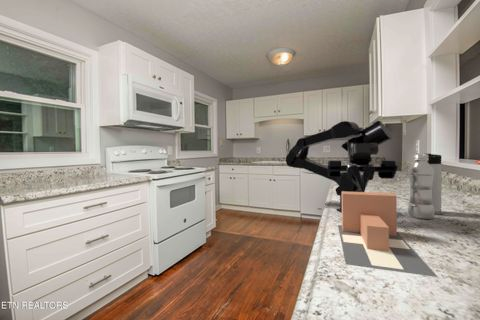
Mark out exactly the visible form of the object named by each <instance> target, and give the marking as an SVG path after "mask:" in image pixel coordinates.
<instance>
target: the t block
mask: <svg viewBox="0 0 480 320" xmlns="http://www.w3.org/2000/svg"><path fill="white" fill-rule="evenodd" d="M397 215H398V214H397V195H396V194H395V193H393V192H371V191H365V192H346V191H342V212H341V225H342V229H343V231H345V232H356V233H360V234H361V236H362V238H363V240H364V242H365V245H366V247H367V249H375V250H384V251H389V236H397V232H398V231H397V229H398V228H397V219H398V218H397Z"/></svg>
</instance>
